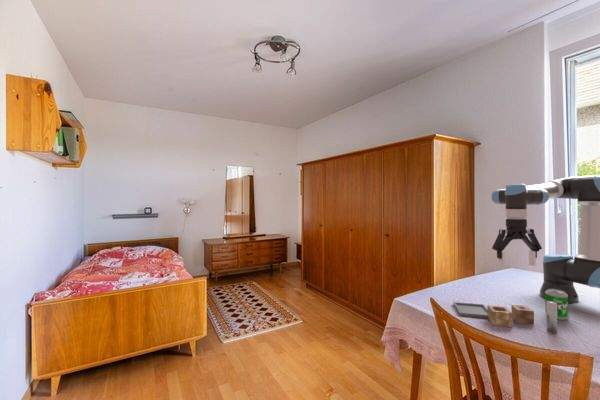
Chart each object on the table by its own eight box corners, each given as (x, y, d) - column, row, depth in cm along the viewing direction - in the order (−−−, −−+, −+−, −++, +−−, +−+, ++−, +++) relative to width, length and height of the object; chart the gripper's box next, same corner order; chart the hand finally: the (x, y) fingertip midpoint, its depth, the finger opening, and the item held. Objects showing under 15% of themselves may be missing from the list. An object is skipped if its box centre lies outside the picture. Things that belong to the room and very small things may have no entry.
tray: (483, 307, 137) (483, 304, 137) (493, 319, 124) (493, 315, 124) (453, 304, 141) (453, 301, 141) (459, 315, 129) (459, 312, 129)
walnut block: (527, 319, 124) (527, 305, 124) (534, 325, 118) (533, 311, 118) (511, 317, 125) (511, 304, 125) (517, 323, 120) (517, 309, 120)
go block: (505, 319, 123) (505, 306, 123) (512, 327, 117) (512, 313, 116) (487, 318, 125) (487, 305, 125) (493, 325, 119) (492, 311, 119)
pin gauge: (554, 330, 113) (554, 301, 113) (559, 333, 110) (558, 304, 110) (545, 329, 114) (544, 300, 114) (549, 332, 111) (548, 303, 111)
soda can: (541, 314, 128) (540, 288, 128) (555, 313, 128) (555, 287, 128) (557, 321, 120) (556, 294, 120) (573, 320, 121) (572, 293, 121)
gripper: (537, 217, 126) (538, 263, 126) (482, 218, 127) (483, 264, 127) (551, 218, 119) (552, 267, 119) (493, 219, 119) (494, 268, 119)
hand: (516, 265), depth 123 cm, fingers open, 13 cm apart
